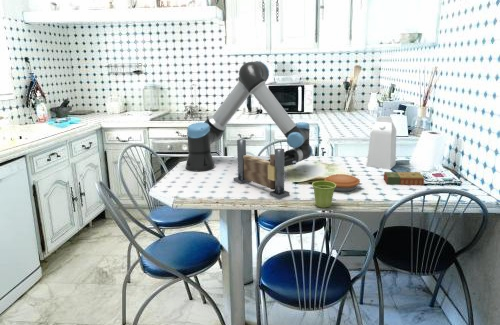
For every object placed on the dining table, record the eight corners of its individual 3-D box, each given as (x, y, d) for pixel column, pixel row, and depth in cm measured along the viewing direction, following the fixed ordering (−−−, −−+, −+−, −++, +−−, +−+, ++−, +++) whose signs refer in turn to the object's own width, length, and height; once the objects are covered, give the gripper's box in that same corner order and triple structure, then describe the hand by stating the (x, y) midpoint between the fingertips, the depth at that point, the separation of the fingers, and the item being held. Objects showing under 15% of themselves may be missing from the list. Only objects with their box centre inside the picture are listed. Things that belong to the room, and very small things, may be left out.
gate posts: (233, 181, 195) (232, 140, 189) (243, 178, 198) (242, 138, 193) (278, 198, 170) (278, 152, 165) (289, 195, 173) (289, 149, 168)
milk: (395, 164, 218) (399, 115, 211) (389, 169, 209) (393, 119, 202) (373, 161, 224) (375, 114, 218) (366, 166, 215) (369, 117, 208)
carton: (423, 186, 183) (424, 177, 182) (386, 185, 185) (387, 176, 184) (418, 180, 191) (419, 171, 190) (383, 179, 193) (383, 171, 192)
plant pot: (336, 202, 165) (337, 181, 162) (333, 210, 156) (334, 189, 154) (313, 200, 168) (314, 179, 165) (309, 208, 159) (309, 187, 157)
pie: (353, 195, 172) (353, 184, 171) (318, 190, 180) (319, 179, 179) (364, 185, 185) (364, 175, 183) (331, 180, 193) (331, 170, 191)
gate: (243, 179, 191) (242, 147, 187) (247, 177, 192) (247, 146, 189) (273, 190, 174) (273, 156, 171) (278, 188, 176) (278, 155, 172)
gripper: (303, 165, 202) (278, 177, 184) (281, 162, 210) (254, 173, 191) (304, 150, 200) (278, 161, 182) (281, 147, 208) (254, 157, 189)
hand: (266, 167), depth 186 cm, fingers closed
